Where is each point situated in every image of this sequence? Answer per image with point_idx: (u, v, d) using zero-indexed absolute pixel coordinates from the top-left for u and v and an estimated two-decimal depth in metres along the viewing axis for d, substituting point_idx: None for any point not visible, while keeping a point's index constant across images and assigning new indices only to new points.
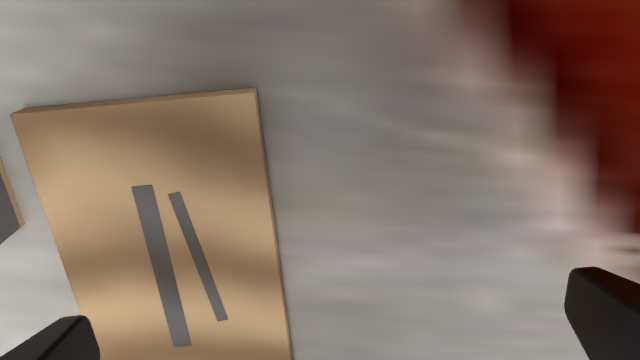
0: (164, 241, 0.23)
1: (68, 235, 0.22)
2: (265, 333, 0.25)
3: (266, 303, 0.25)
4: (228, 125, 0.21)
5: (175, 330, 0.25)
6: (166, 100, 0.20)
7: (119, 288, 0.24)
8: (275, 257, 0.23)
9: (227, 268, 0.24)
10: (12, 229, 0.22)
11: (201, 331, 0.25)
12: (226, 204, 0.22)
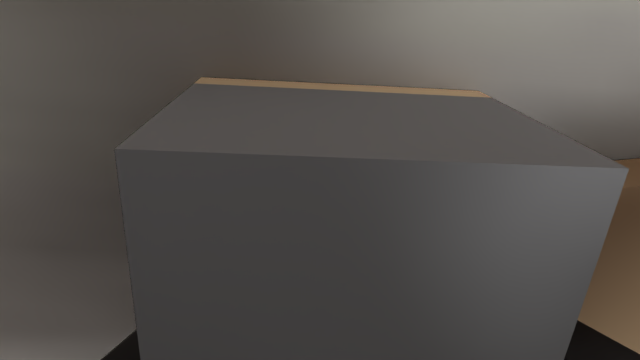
0: None
1: None
2: None
3: None
4: None
5: None
6: None
7: None
8: None
9: None
10: None
11: None
12: None
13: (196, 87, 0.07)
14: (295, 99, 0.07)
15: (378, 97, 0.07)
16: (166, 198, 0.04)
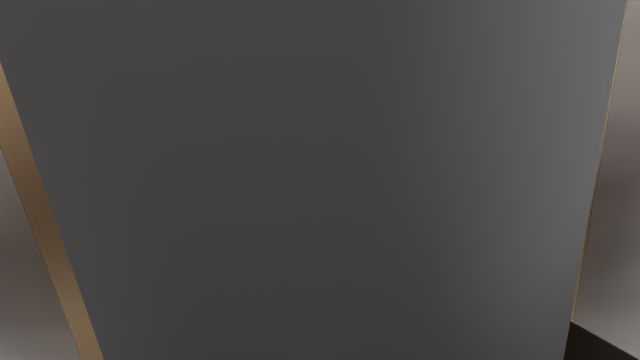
0: None
1: None
2: None
3: None
4: None
5: None
6: None
7: None
8: None
9: None
10: None
11: None
12: None
13: None
14: None
15: None
16: None
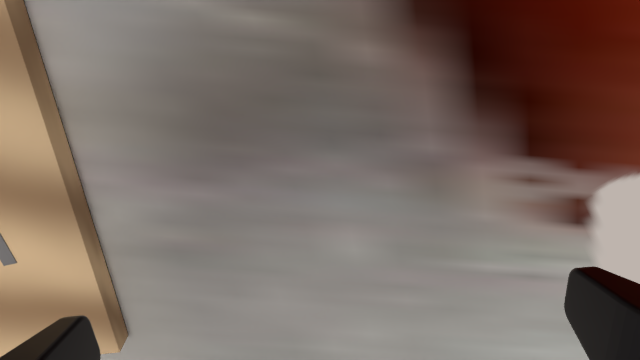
0: None
1: None
2: (69, 281, 0.20)
3: (62, 242, 0.20)
4: None
5: None
6: None
7: None
8: (61, 180, 0.18)
9: (2, 195, 0.19)
10: None
11: None
12: None
13: None
14: None
15: None
16: None
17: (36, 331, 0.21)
